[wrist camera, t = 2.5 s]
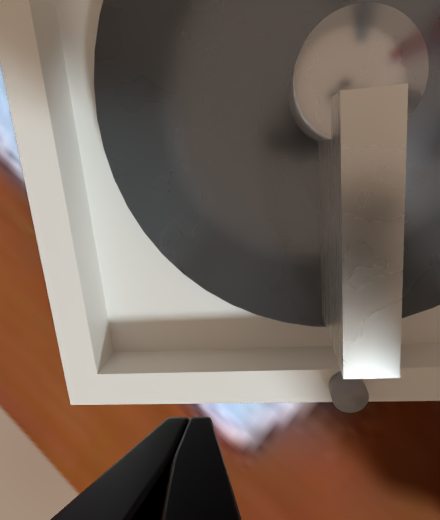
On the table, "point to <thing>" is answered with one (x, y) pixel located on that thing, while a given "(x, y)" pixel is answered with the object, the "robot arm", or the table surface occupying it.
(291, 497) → the table surface
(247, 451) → the table surface
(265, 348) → the dial housing
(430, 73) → the dial
